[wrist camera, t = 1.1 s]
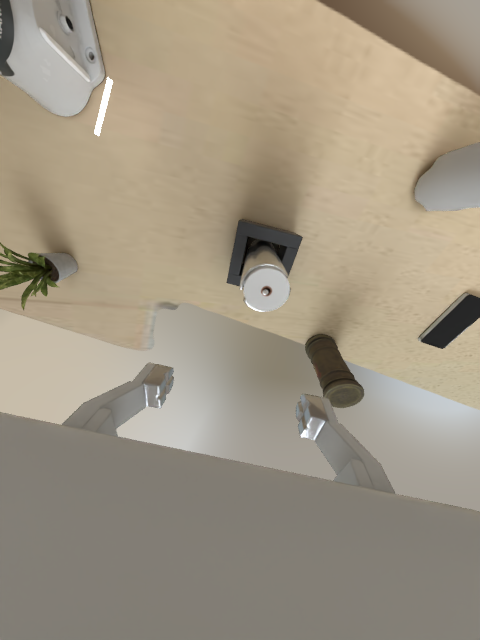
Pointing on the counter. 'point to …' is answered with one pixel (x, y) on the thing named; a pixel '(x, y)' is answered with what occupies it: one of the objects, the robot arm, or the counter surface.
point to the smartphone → (452, 322)
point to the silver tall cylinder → (264, 278)
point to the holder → (266, 233)
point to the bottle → (451, 181)
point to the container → (333, 372)
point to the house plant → (36, 271)
